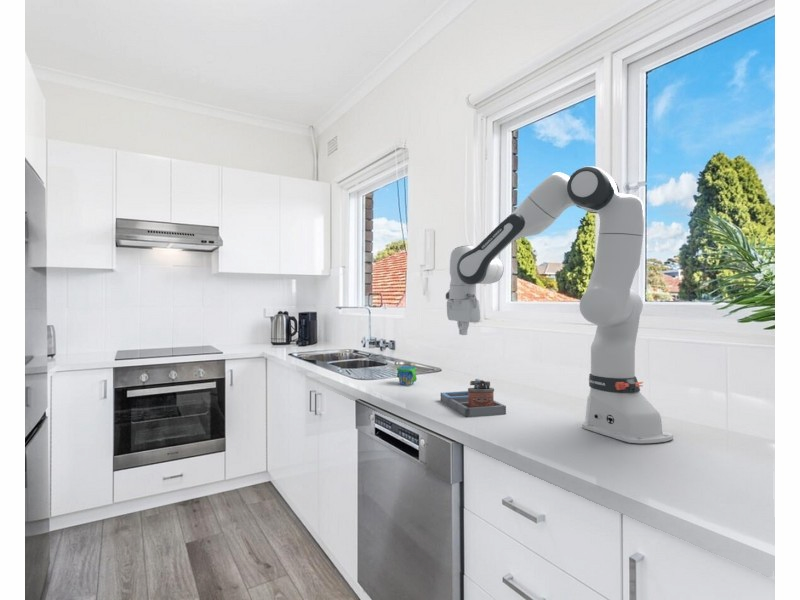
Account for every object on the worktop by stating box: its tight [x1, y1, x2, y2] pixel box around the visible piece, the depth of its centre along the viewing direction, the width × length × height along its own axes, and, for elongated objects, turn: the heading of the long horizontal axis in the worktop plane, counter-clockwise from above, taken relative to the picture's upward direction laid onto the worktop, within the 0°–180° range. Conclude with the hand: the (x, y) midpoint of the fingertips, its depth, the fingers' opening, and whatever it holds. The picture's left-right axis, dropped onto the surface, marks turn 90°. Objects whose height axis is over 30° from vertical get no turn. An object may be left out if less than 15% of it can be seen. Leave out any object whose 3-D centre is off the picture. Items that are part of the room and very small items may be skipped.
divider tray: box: [440, 378, 507, 418], centre depth 147 cm, size 22×14×7 cm, turn 15°
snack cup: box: [396, 365, 418, 387], centre depth 184 cm, size 11×8×7 cm
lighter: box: [467, 379, 495, 408], centre depth 140 cm, size 8×3×10 cm, turn 91°
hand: (463, 334), depth 153 cm, fingers closed
